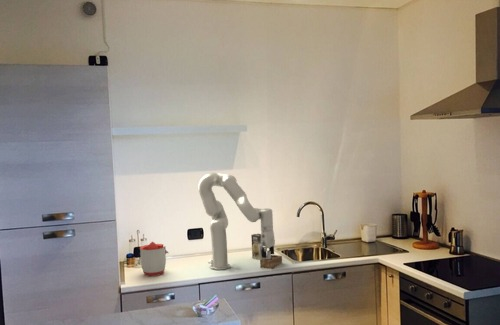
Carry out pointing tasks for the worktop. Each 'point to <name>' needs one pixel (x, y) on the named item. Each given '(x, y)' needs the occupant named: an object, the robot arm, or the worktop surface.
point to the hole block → (271, 262)
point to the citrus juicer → (153, 259)
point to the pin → (268, 255)
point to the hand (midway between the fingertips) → (267, 255)
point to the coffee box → (256, 246)
